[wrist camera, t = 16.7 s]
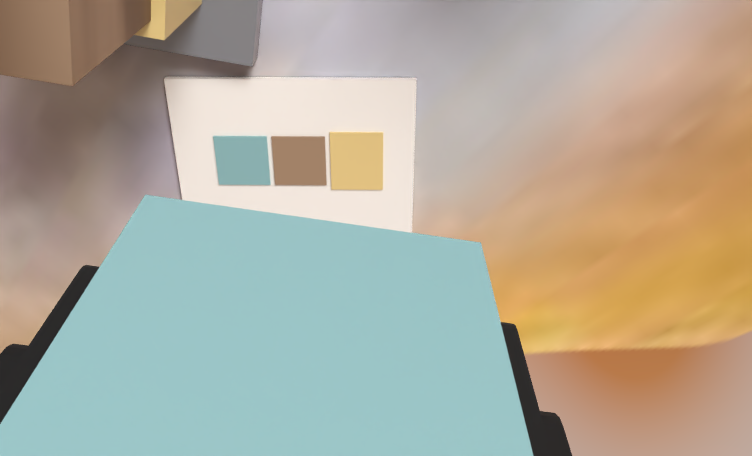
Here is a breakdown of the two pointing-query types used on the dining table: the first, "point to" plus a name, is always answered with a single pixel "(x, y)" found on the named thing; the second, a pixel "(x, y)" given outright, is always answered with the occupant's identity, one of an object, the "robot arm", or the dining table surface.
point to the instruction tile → (298, 145)
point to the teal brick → (274, 345)
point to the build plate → (204, 29)
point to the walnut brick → (65, 36)
